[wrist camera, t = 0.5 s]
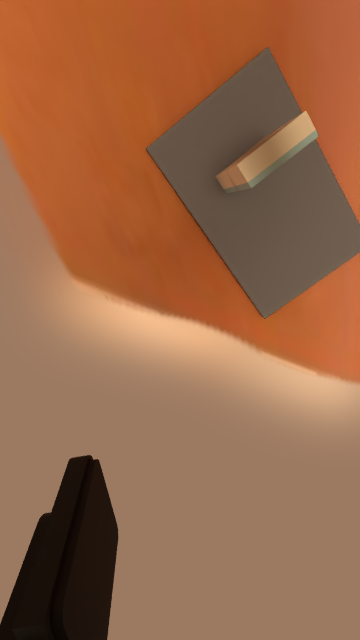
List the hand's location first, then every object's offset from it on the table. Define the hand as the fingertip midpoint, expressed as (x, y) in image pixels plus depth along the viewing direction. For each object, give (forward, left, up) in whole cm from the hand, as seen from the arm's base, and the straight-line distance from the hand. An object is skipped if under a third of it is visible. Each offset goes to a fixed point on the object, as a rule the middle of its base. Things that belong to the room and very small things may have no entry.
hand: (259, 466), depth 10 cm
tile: (-12, -5, -28) cm, 31 cm away
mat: (-12, -1, -29) cm, 31 cm away
